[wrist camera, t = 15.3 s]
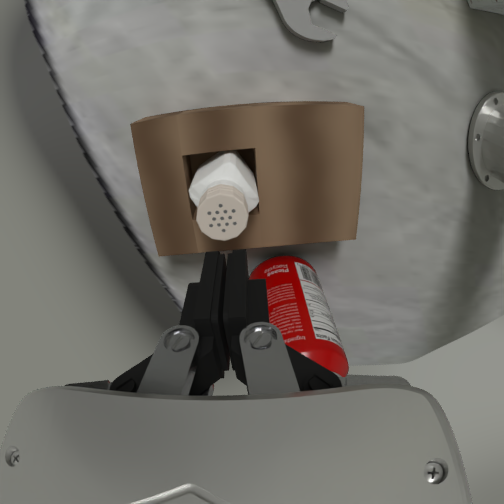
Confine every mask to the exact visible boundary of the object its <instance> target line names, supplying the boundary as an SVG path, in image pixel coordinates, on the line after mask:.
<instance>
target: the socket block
mask: <svg viewBox="0 0 504 504" xmlns="http://www.w3.org/2000/svg"><path fill="white" fill-rule="evenodd" d="M130 125H131V131H132V137H133V143H134V148H135V154H136V159H137V164H138V169H139V174H140V179H141V184H142V189H143V193H144V198H145V202H146V207H147V211H148V215H149V220H150V224H151V228H152V232H153V236H154V240H155V244H156V248H157V251H158V255H159V256H168V255H180V254H191V253H202V252H210V251H225V250H237V249H248V248H260V247H271V246H283V245H295V244H307V243H319V242H330V241H342V240H354V239H356V233H357V224H358V214H359V204H360V192H361V178H362V162H363V138H364V106H360V105H356V104H352V103H348V102H319V101H302V102H268V103H251V104H238V105H227V106H217V107H209V108H201V109H193V110H186V111H179V112H173V113H167V114H161V115H156V116H150V117H145V118H143V119H140V120H138V121H136V122H134V123H132V124H130ZM226 150H237V152H238V153H239V154H240V156H241V157H242V158H243V160H244V161H245V162H246V164H247V165H248V167H249V168H250V169H251V171H252V172H253V174H254V177H255V182H256V187H257V192H258V197H259V203H258V204H257V206H256V207H255V208H254V209H253V210H251V211H250V212H249V216H248V221H247V226H246V228H245V229H244V230H243V231H242V232H241V233H240V235H239V236H238V237H235V238H232V239H229V240H226V241H223V240H216V239H211V238H210V237H209V236H207V235H206V234H204V233H203V232H201V230H200V227H199V225H198V223H197V221H196V217H197V209H198V208H197V206H196V205H195V204H194V202H193V201H192V199H191V198H190V195H189V188H190V186H191V183H192V181H193V178H194V176H195V173H196V171H197V169H198V167H199V166H200V165H201V164H203V163H204V162H205V161H207V160H208V159H210V158H211V157H212V156H214V155H215V154H217V153H218V152H220V151H226Z"/></svg>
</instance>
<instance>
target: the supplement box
mask: <svg viewBox="0 0 504 504" xmlns="http://www.w3.org/2000/svg"><path fill="white" fill-rule="evenodd" d="M467 1H468V4H469V7H470V8H472V9H477V10H483V11H488V12H493V13H498V14H502V15H504V0H467Z"/></svg>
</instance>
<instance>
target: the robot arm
mask: <svg viewBox="0 0 504 504" xmlns="http://www.w3.org/2000/svg"><path fill="white" fill-rule="evenodd" d="M468 150H469V158H470V162H471V166H472V169H473V171H474V174H475V175H476V177H477V178H478V180H479V181H480V182H481V183H482V184H484V185H485V186H487V187H488V188H490V189H493V190H503V189H504V92H492V93H490V94H488V95H486V96H485V97H484V98H483V99H482V100H481V101H480V103H479V104H478V106H477V108H476V109H475V112H474V114H473V117H472V120H471V124H470V128H469V136H468ZM230 359H231V363H232V368H233V370H235V372H236V377H237V379H238V380H240V381H241V382H242V383H244V384H245V385H246V386H247V391H248V395H238V396H237V395H236V396H212V395H213V391H214V385H213V384H214V383H215V382H216V381H218V380H219V379H220V378H224V371H227V370H229V364H230V363H229V362H230ZM0 504H472V498H471V493H470V489H469V485H468V481H467V477H466V473H465V469H464V465H463V461H462V457H461V454H460V451H459V448H458V445H457V442H456V439H455V436H454V433H453V430H452V428H451V426H450V423H449V421H448V419H447V417H446V415H445V413H444V411H443V409H442V407H441V406H440V404H439V403H438V402H437V400H436V399H435V398H434V397H433V396H432V395H431V394H430V393H428V392H426V391H424V390H422V389H419V388H416V387H412V386H411V385H410V384H409V382H407V380H405V379H404V378H402V377H398V376H369V375H347V376H346V377H338V376H337V375H336V374H335V373H333V372H332V371H330V370H328V369H327V368H325V367H323V366H321V365H320V364H318V363H316V362H315V361H313V360H311V359H310V358H308V357H306V356H305V355H303V354H301V353H300V352H298V351H296V350H295V349H293V348H291V347H290V346H288V345H286V344H285V343H284V340H283V337H282V334H281V332H280V330H279V328H277V327H276V326H275V325H273V324H271V323H270V322H269V310H268V299H267V287H266V278H265V279H250V280H249V276H248V266H247V255H246V249H239V250H233V253H230V254H228V259H227V268H226V261H225V255H224V254H220V252H219V251H210V252H206V254H205V259H204V264H203V269H202V274H201V279H200V282H198V283H189V285H188V289H187V293H186V298H185V302H184V306H183V311H182V315H181V320H180V325H178V326H174V327H172V328H170V329H168V330H167V331H165V332H164V333H163V335H162V336H161V338H160V340H159V342H158V345H157V347H156V349H155V351H154V353H153V354H152V355H151V356H149V357H148V358H146V359H145V360H143V361H142V362H140V363H139V364H137V365H136V366H134V367H133V368H131V369H130V370H128V371H126V372H125V373H123V374H122V375H120V376H119V377H117V378H116V379H115V380H114V381H113V382H109V380H104V381H95V382H85V383H73V384H68V385H65V386H53V387H46V388H41V389H37V390H34V391H32V392H30V393H28V394H27V395H26V396H25V397H24V398H23V399H22V400H21V402H20V403H19V405H18V406H17V408H16V410H15V412H14V414H13V416H12V419H11V421H10V423H9V426H8V429H7V431H6V434H5V437H4V440H3V442H2V446H1V449H0Z"/></svg>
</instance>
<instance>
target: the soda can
mask: <svg viewBox="0 0 504 504" xmlns="http://www.w3.org/2000/svg"><path fill="white" fill-rule="evenodd" d="M265 278H266V287H267V299H268V310H269V322H270V323H271V324H273V325H275V326H276V327H277V328H279V330H280V332H281V334H282V337H283V340H284V343H285V344H286V345H288V346H290V347H291V348H293V349H295V350H296V351H298V352H300V353H301V354H303V355H305V356H306V357H308V358H310V359H311V360H313V361H315V362H316V363H318V364H320V365H321V366H323V367H325V368H327V369H328V370H330V371H332V372H333V373H335V374H336V375H337V376H338V377H346V376H347V374H348V370H349V366H348V361H347V358H346V355H345V352H344V349H343V346H342V343H341V340H340V337H339V334H338V331H337V328H336V325H335V322H334V320H333V317H332V314H331V311H330V308H329V306H328V303H327V300H326V297H325V295H324V292H323V289H322V287H321V284H320V281H319V278H318V276H317V274H316V271H315V270H314V268H313V267H312V266H311V265H310V264H309V263H308V262H307V261H305V260H303V259H301V258H298V257H295V256H277V257H273V258H270V259H268V260H266V261H264V262H262V263H261V264H260V265H258V266H257V267H256V268H255V269H254V270H253V272H252V273H251V275H250V277H249V280H250V279H265Z"/></svg>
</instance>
